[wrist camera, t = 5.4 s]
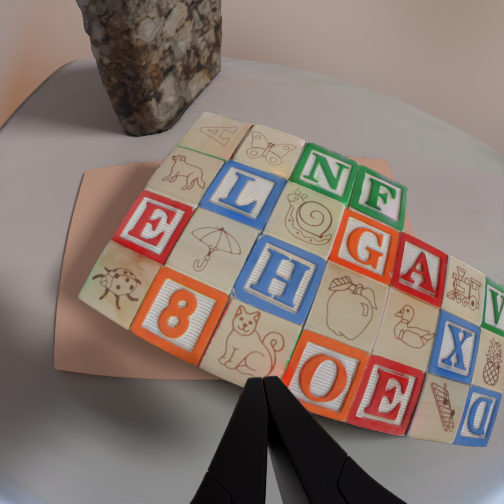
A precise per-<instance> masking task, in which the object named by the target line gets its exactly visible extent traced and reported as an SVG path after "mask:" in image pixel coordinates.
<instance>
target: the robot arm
mask: <svg viewBox="0 0 504 504" xmlns="http://www.w3.org/2000/svg"><path fill="white" fill-rule="evenodd" d="M267 449H269V453H270V457H271V461H272V465H273V468H274V472H275V476H276V480H277V483H278V487H279V491H280V494H281V498H282V501H283V504H407V503H406V502H404V501H403V500H401V499H400V498H398V497H397V496H396V495H394V494H393V493H391V492H390V491H388V490H387V489H386V488H384V487H383V486H382V485H381V484H379V483H378V482H377V481H375V480H374V479H373V478H372V477H371V476H369V475H368V474H367V473H366V472H365V471H364V470H363V469H362V468H361V467H360V466H359V465H358V464H357V463H356V462H355V461H354V460H353V459H352V458H351V457H350V456H347V455H348V454H347V453H346V452H345V451H344V450H343V449H342V448H341V447H340V446H339V444H338V443H337V442H336V441H335V440H334V439H333V438H332V437H331V436H330V435H329V434H328V433H327V431H326V430H325V429H324V428H323V427H322V426H321V425H320V424H319V423H318V422H317V420H316V419H315V418H314V417H313V416H312V415H311V414H310V413H309V412H308V410H307V409H306V408H305V407H304V406H303V405H302V404H301V402H300V401H299V400H298V399H297V398H296V397H295V396H294V394H293V393H292V392H291V391H290V390H289V389H288V387H287V386H286V385H285V384H284V383H283V382H282V380H281V379H280V378H279V377H278V376H265V377H263V379H262V377H250V378H248V379H247V380H246V383H245V385H244V388H243V390H242V392H241V395H240V397H239V400H238V402H237V404H236V407H235V409H234V411H233V414H232V416H231V418H230V421H229V423H228V425H227V428H226V430H225V432H224V435H223V437H222V439H221V441H220V444H219V446H218V448H217V450H216V453H215V455H214V457H213V459H212V461H211V464H210V466H209V468H208V472H206V474H205V476H204V478H203V480H202V482H201V484H200V486H199V488H198V490H197V492H196V494H195V496H194V498H193V499H192V501H191V502H190V504H265V498H266V476H267Z"/></svg>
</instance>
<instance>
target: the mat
mask: <svg viewBox="0 0 504 504" xmlns="http://www.w3.org/2000/svg"><path fill="white" fill-rule="evenodd" d="M347 158H349V159H352V160H354V161H356V162H357V163H358V164H359V165H363V166H366V167H368V168H370V169H372V170H374V171H376V172H378V173H380V174H382V175H385V176H387V177H389V178H391V179H393V180H395V179H394V176H393V174H392V171H391V169H390V166H389V164H388V161H387V160H381V159H369V158H355V157H347ZM162 162H163V160H161V161H151V162H142V163H134V164H126V165H118V166H111V167H104V168H98V169H91V170H86V171H85V174H84V177H83V180H82V184H81V187H80V191H79V194H78V198H77V202H76V205H75V209H74V213H73V217H72V221H71V226H70V230H69V235H68V240H67V245H66V250H65V255H64V261H63V267H62V273H61V280H60V287H59V295H58V304H57V314H56V327H55V345H54V369H57V370H63V371H70V372H77V373H85V374H93V375H102V376H113V377H125V378H140V379H162V380H222V378H220V377H217V376H215V375H213V374H211V373H209V372H207V371H205V370H203V369H201V368H199V367H197V366H195V365H192V364H190V363H188V362H186V361H184V360H182V359H180V358H178V357H176V356H174V355H172V354H170V353H168V352H166V351H164V350H162V349H160V348H159V347H157V346H155V345H153V344H151V343H149V342H148V341H146V340H144V339H142V338H140V337H139V336H137V335H135V334H134V333H133V332H131V331H129V330H127V329H125V328H124V327H122V326H120V325H119V324H117V323H115V322H114V321H112V320H111V319H109V318H107V317H106V316H104V315H103V314H101V313H100V312H98V311H97V310H95V309H93V308H92V307H90V306H89V305H87V304H86V303H84V302H83V301H81V300H80V299H78V295H79V293H80V291H81V289H82V287H83V285H84V283H85V282H86V280H87V278H88V276H89V274H90V272H91V270H92V269H93V267H94V265H95V263H96V261H97V260H98V258H99V256H100V255H101V253H102V251H103V250H104V248H105V246H106V245H107V243H108V242H109V241H111V240H112V238H113V236H114V234H115V232H116V230H117V229H118V227H119V225H120V224H121V222H122V220H123V219H124V217H125V216H126V214H127V213H128V211H129V210H130V208H131V207H132V205H133V204H134V202H135V201H136V199H137V198H138V196H139V195H140V194H141V192H142V191H143V190H144V189H145V187H146V184H147V182H148V181H149V179H150V178H151V176H152V175H153V174H154V172H155V171H156V169H157V168H158V167H159V166H160V165H161V163H162ZM404 232H405V233H407V234H409V235H411V236H413V237H414V234H413V230H412V227H411V224H410V221H409V218H408V215H407V212H406V214H405V222H404Z"/></svg>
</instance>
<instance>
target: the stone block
mask: <svg viewBox="0 0 504 504" xmlns="http://www.w3.org/2000/svg"><path fill="white" fill-rule="evenodd" d="M76 1H77V4H78V6H79V8H80V9H81V12H82V15H83V21H84V22H83V23H84V29H85V31H86V33H87V34H88V35H89V37H90V42H91V50H92V52H93V55H94V57H95V59H96V62H97V66H98V69H99V73H100V75H101V78H102V82H103V85H104V87H105V88H106V91H107V93H108V95H109V98H110V100H111V102H112V106H113V109H114V111H115V112H116V114H117V116H118V119H119V121H120V123H121V125H122V127H123V129H124V132H126V133H127V134H131V135H134V136H141V135H147V134H149V133H156V132H159V131H162V132H163V131H165V130H167V129H170V128H171V127H172V126H174V125H175V124H176V123H177V122H178V121H179V119H180V118H181V116H182V115H183V114H184V112H185V111H186V110H187V108H188V107H189V106H190V105H191V104H192V103H193V102H194V101H195V99H196V98H197V97H198V96H199V95H200V94H201V93H202V91H203V90H204V89H205V88H206V87H207V86H208V85H209V84H210V83H211V81H212V80H213V78H214V77H215V76H216V75H217V74H218V73H219V72H220V71H221V54H220V53H221V42H222V41H221V39H222V16H221V0H76Z"/></svg>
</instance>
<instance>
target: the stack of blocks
mask: <svg viewBox="0 0 504 504" xmlns="http://www.w3.org/2000/svg"><path fill="white" fill-rule="evenodd" d="M407 193H408V188H407V187H406V186H404V185H402V184H400V183H398V182H396V181H395V180H393V179H391V178H389V177H387V176H385V175H382V174H380V173H378V172H376V171H374V170H372V169H370V168H368V167H366V166H363V165H359V164H358V163H357V162H356V161H354V160H352V159H349V158H347V157H345V156H342V155H340V154H338V153H336V152H334V151H331V150H328V149H326V148H324V147H321V146H319V145H316V144H314V143H306V141H305V140H303V139H300V138H298V137H295V136H293V135H290V134H287V133H284V132H281V131H278V130H276V129H273V128H270V127H266V126H263V125H261V124H256V125H251V124H250V123H246V122H243V121H239V120H237V119H233V118H228V117H225V116H221V115H218V114H214V113H210V112H206V111H205V112H204V113H203V114H202V115H201V116H200V117H199V118H198V120H197V121H196V122H195V123H194V124H193V126H192V127H191V128H190V129H189V131H188V132H187V133H186V134H185V136H184V137H183V138H182V139H181V141H180V142H179V143H178V144H177V145H176V146H174V147H173V149H172V150H171V151H170V153H169V154H168V156H167V157H166V158H165V159H164V160H163V162H162V163H161V165H160V166H159V167H158V168H157V169H156V171H155V172H154V174H153V175H152V176H151V178H150V179H149V181H148V182H147V184H146V187H145V189H144V190H143V191H142V192H141V194H140V195H139V196H138V198H137V199H136V201H135V202H134V204H133V205H132V207H131V208H130V210H129V211H128V213H127V214H126V216H125V217H124V219H123V220H122V222H121V224H120V225H119V227H118V229H117V230H116V232H115V234H114V236H113V238H112V240H111V241H109V242H108V243H107V245H106V246H105V248H104V250H103V251H102V253H101V255H100V256H99V258H98V260H97V261H96V263H95V265H94V267H93V269H92V270H91V272H90V274H89V276H88V278H87V280H86V282H85V283H84V285H83V287H82V289H81V291H80V293H79V295H78V299H80V300H81V301H83V302H84V303H86V304H87V305H89V306H90V307H92V308H93V309H95V310H97V311H98V312H100V313H101V314H103V315H104V316H106V317H107V318H109V319H111V320H112V321H114V322H115V323H117V324H119V325H120V326H122V327H124V328H125V329H127V330H129V331H131V332H133V333H134V334H135V335H137V336H139V337H140V338H142V339H144V340H146V341H148V342H149V343H151V344H153V345H155V346H157V347H159V348H160V349H162V350H164V351H166V352H168V353H170V354H172V355H174V356H176V357H178V358H180V359H182V360H184V361H186V362H188V363H190V364H192V365H195V366H197V367H199V368H201V369H203V370H205V371H207V372H209V373H211V374H213V375H215V376H217V377H220V378H222V379H224V380H226V381H229V382H231V383H233V384H236V385H238V386H240V387H243V388H244V385H245V383H246V380H247V379H248V378H250V377H262V379H263V377H265V376H278V377H279V378H280V379H281V380H282V382H283V383H284V384H285V385H286V386H287V387H288V389H289V390H290V391H291V392H292V393H293V394H294V396H295V397H296V398H297V399H298V400H299V401H300V402H301V404H302V405H303V406H304V407H305V408H306V409H307V410H308V412H311V413H314V414H317V415H321V416H324V417H327V418H330V419H333V420H337V421H341V422H345V423H348V424H352V425H355V426H359V427H363V428H366V429H370V430H375V431H379V432H383V433H388V434H392V435H397V436H405V437H409V438H414V439H420V440H427V441H433V442H440V443H447V444H454V445H463V446H474V447H486V446H487V444H488V441H489V438H490V435H491V432H492V429H493V425H494V423H495V419H496V416H497V412H498V408H499V405H500V401H501V397H502V395H501V393H502V391H503V389H504V287H503V286H502V285H500V284H498V283H496V282H495V281H493V280H492V279H490V278H488V277H486V276H485V275H484V274H483V273H481V272H480V271H478V270H476V269H474V268H472V267H471V266H469V265H467V264H465V263H463V262H462V261H460V260H458V259H456V258H454V257H453V256H451V255H446V254H445V253H443V252H442V251H440V250H438V249H436V248H434V247H432V246H430V245H428V244H426V243H425V242H423V241H421V240H419V239H417V238H415V237H413V236H411V235H409V234H407V233H405V232H404V222H405V214H406V205H407Z"/></svg>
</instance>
